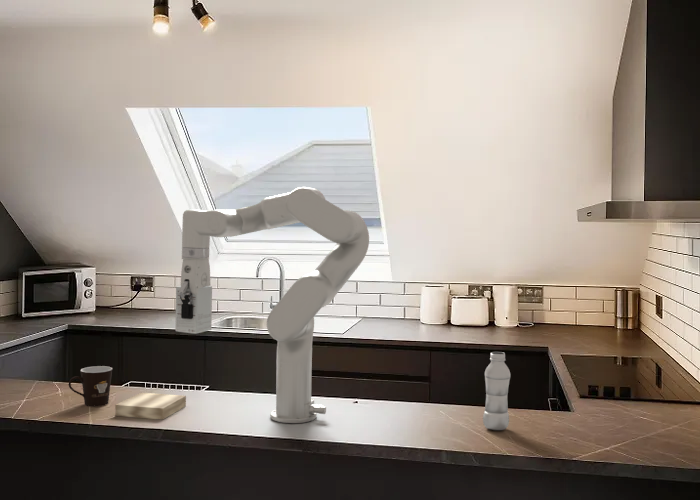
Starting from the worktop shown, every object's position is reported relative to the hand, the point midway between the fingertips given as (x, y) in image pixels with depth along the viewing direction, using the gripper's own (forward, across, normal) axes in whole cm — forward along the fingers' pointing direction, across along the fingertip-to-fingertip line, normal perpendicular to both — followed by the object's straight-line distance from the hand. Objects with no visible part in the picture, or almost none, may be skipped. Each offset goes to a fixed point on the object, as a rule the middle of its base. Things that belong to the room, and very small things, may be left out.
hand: (194, 316), depth 198 cm
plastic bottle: (+25, +4, -84) cm, 87 cm away
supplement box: (+4, 0, 0) cm, 4 cm away
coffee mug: (+27, -3, +30) cm, 41 cm away
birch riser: (+27, -4, +10) cm, 29 cm away
